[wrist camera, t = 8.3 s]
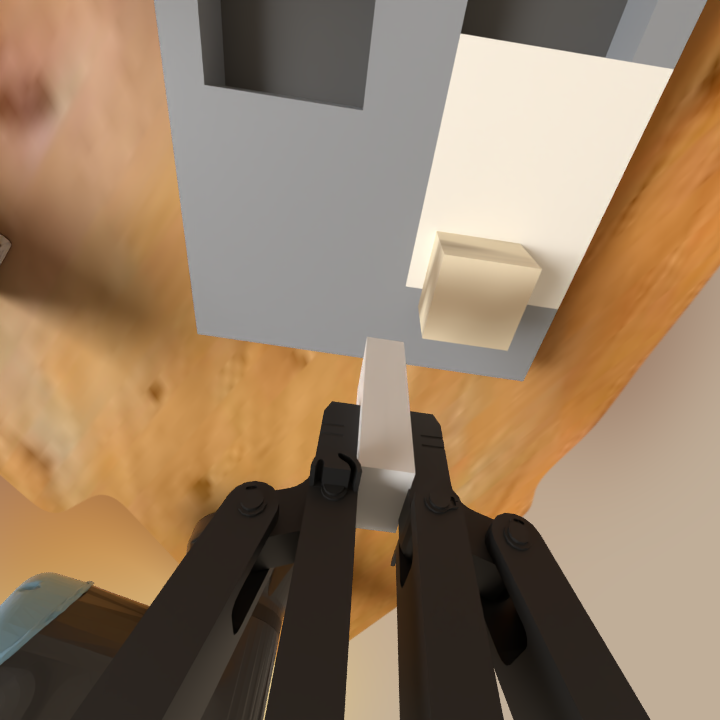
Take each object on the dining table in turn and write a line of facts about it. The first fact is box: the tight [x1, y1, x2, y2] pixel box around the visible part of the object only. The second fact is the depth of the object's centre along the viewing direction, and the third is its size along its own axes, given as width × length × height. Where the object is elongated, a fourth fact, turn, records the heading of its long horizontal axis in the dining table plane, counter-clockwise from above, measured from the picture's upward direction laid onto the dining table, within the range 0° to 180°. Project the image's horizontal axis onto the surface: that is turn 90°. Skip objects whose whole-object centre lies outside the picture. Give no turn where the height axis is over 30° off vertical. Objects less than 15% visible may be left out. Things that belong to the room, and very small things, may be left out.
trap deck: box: [154, 0, 707, 381], centre depth 21 cm, size 28×24×4 cm
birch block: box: [418, 231, 542, 351], centre depth 22 cm, size 5×5×4 cm
